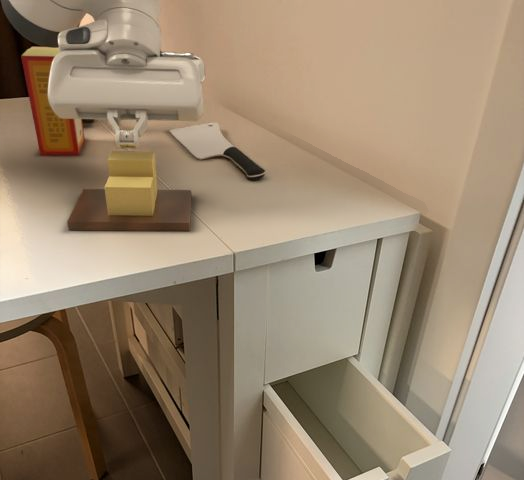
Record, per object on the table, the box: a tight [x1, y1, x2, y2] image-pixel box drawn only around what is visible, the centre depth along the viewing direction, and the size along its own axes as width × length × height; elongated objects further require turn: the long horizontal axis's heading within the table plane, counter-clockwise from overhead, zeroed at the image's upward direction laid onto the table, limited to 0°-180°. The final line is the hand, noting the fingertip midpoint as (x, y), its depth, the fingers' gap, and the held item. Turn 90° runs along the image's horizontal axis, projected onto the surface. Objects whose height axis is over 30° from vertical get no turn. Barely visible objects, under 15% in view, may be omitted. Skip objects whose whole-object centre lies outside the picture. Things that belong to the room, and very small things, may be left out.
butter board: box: [66, 188, 192, 232], centre depth 79 cm, size 16×12×1 cm
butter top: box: [104, 175, 155, 216], centre depth 76 cm, size 6×4×4 cm
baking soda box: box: [20, 46, 86, 156], centre depth 97 cm, size 10×6×16 cm
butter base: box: [107, 150, 158, 201], centre depth 79 cm, size 6×4×6 cm, turn 94°
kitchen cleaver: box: [169, 122, 266, 181], centre depth 102 cm, size 31×2×10 cm
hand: (127, 146), depth 73 cm, fingers closed
